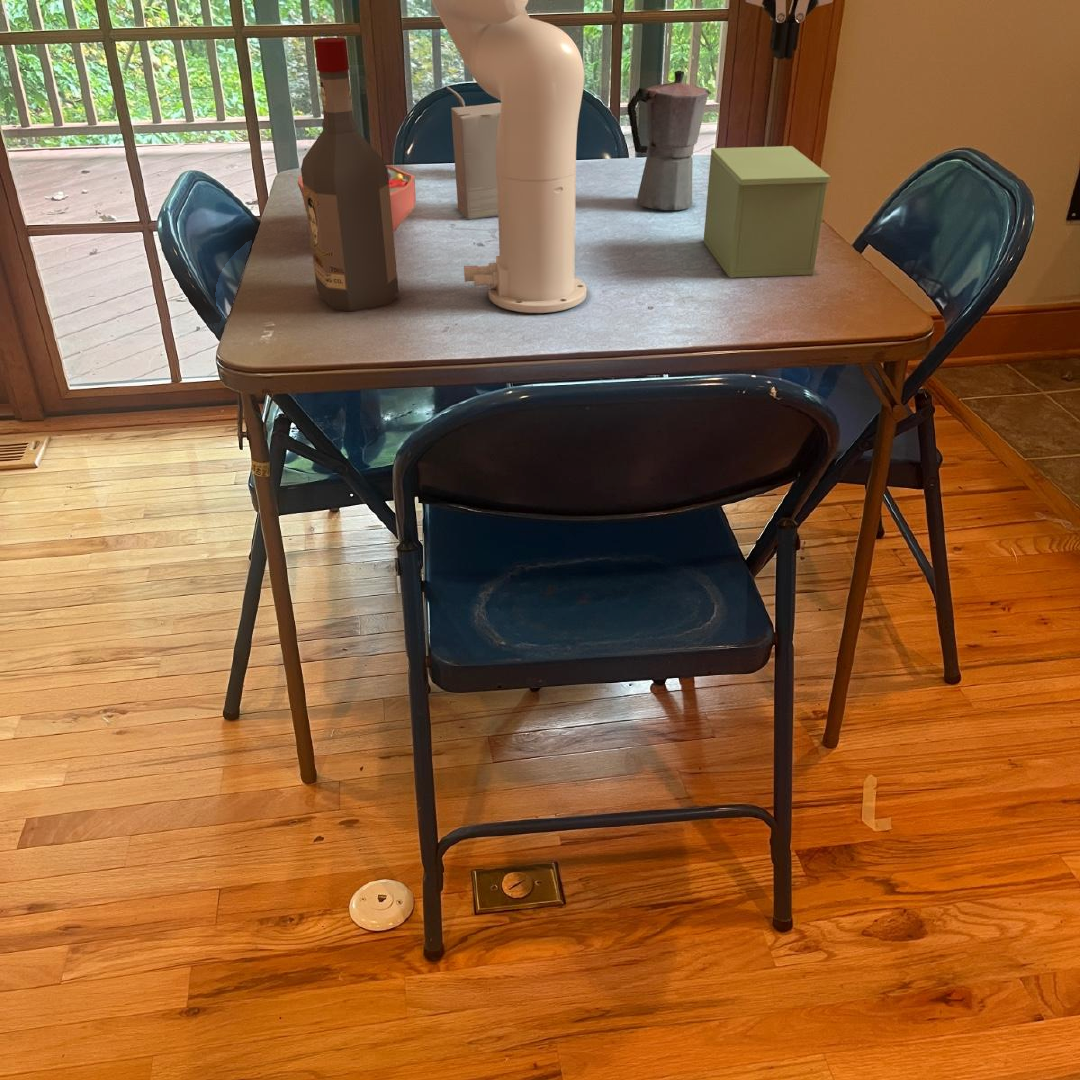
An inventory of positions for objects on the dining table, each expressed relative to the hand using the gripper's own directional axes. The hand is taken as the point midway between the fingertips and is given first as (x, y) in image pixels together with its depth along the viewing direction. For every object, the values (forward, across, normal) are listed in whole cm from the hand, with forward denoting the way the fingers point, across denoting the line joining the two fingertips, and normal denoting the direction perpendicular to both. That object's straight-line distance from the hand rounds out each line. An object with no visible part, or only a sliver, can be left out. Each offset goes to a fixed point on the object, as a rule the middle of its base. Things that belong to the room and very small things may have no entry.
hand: (781, 57), depth 125 cm
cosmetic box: (+27, -36, +28) cm, 53 cm away
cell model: (+27, -55, +18) cm, 64 cm away
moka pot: (+26, -7, +29) cm, 40 cm away
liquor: (+27, -54, -8) cm, 61 cm away
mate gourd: (+26, -36, +51) cm, 68 cm away
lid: (+14, +1, +2) cm, 14 cm away
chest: (+26, +1, +2) cm, 26 cm away
